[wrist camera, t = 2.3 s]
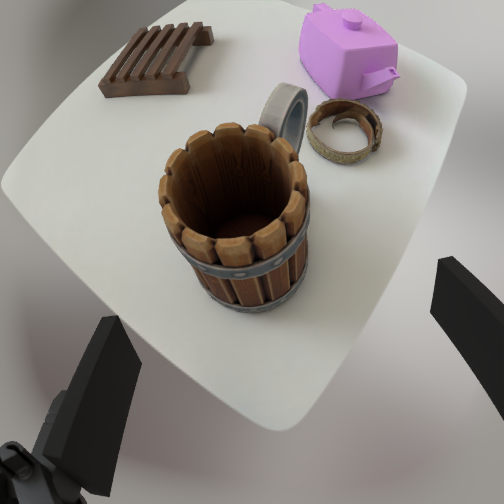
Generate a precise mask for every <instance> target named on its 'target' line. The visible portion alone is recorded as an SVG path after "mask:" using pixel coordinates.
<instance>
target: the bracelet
mask: <svg viewBox="0 0 504 504" xmlns="http://www.w3.org/2000/svg"><path fill="white" fill-rule="evenodd" d="M334 114H339V115H338V116H336V117H335V118H334V120H333V123H334V122H336V121H338V120H340V119H344V118H353V119H356V120H357V121H358V122H359V123H360V126H361V128H362V129H363V130H364V131H365V133H366V135H367V137H368V146H367V147H366V148H364V149H362V150H360V151H356V152H339V151H336V150H334V149H331V148H329V147H328V146H326V145H324V144H323V143H322V142H321V141H319V140H318V139H317V138H316V137H315V135H314V134H313V132H312V130H311V128H312V127H313V126H316V125H319V123H318V122H319V121H320V120H321V119H323V118H325V117H328V116H331V115H334ZM332 126H333V125H332ZM306 127H307V131H306V132H307V134H308V136H307V138H308V140H309V142H310V144H311V145H312V147H313V148H314V149H315V151H317V152H318V153H319V154H320V155H322V156H323V157H324V158H326V159H328V160H331V161H333V162H336V163H339V164H353V163H356V162H359V161H361V160H363V159H364V158H365V157H366V156H367V155H368V154H370V152H371V150H370V149H372V148H373V149H372V152H374V151H377V149H378V147H379V146H380V143H381V137H382V136H381V135H382V130H383V129H382V123H381V122H380V119H379V117H378V116H377V115H376V114H375V112H374V111H373V110H372V109H369V108H368V106H367V105H365V104H362V103H361V102H359V101H357V100H355V101H353V100H351V99H343V98H337V99H329V100H328V101H324V102H323V103H321V105H318V106H317V107H316V111H315V112H314V113H313V114H312V115H311V116H310V118H309V121H308V123H307V126H306ZM333 129H334V128H333ZM374 136H375V145H374V147H373V145H372V143H373V139H374Z"/></svg>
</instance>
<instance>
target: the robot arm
mask: <svg viewBox="0 0 504 504" xmlns="http://www.w3.org/2000/svg"><path fill="white" fill-rule="evenodd" d="M430 313H431V314H432V316H433V317H434V318H435V320H436V321H437V322H438V324H439V325H440V326H441V327H442V329H443V330H444V332H445V333H446V334H447V336H448V337H449V338H450V340H451V341H452V342H453V344H454V345H455V347H456V348H457V350H458V351H459V352H460V354H461V355H462V357H463V358H464V360H465V361H466V362H467V364H468V365H469V367H470V368H471V370H472V371H473V373H474V374H475V376H476V377H477V379H478V380H479V382H480V383H481V385H482V386H483V388H484V389H485V391H486V392H487V394H488V396H489V397H490V399H491V400H492V402H493V404H494V405H495V407H496V408H497V410H498V412H499V413H500V415H501V417H502V418H503V420H504V304H503V303H502V302H501V301H500V300H499V299H498V298H497V297H496V296H495V295H494V294H493V293H492V292H491V291H490V290H489V289H488V288H487V287H486V286H485V285H484V284H482V283H481V282H480V281H479V280H478V279H477V278H476V277H475V276H474V275H473V274H472V273H471V272H469V270H467V269H466V268H465V267H464V266H463V265H462V264H461V263H460V262H459V261H457V260H456V259H455V258H454V257H453V256H450V257H446V258H441V259H438V265H437V273H436V280H435V286H434V292H433V298H432V304H431V309H430ZM141 365H142V363H141V361H140V359H139V357H138V355H137V353H136V351H135V349H134V347H133V345H132V343H131V342H130V339H129V338H128V335H127V334H126V332H125V329H124V327H123V325H122V323H121V321H120V319H119V317H118V315H116V316H108V317H102V318H101V320H100V322H99V324H98V326H97V328H96V330H95V332H94V335H93V336H92V338H91V340H90V342H89V344H88V346H87V348H86V350H85V352H84V355H83V357H82V359H81V361H80V363H79V366H78V367H77V370H76V372H75V374H74V376H73V378H72V380H71V383H70V385H69V387H68V389H67V390H62V391H61V392H60V393H59V394H58V395H57V396H56V398H55V399H54V400H53V402H52V404H51V406H50V409H49V414H47V416H46V418H45V423H43V425H42V428H41V430H40V433H39V435H38V438H37V440H36V443H35V445H34V448H33V451H32V453H31V454H30V453H29V452H28V451H27V450H26V449H25V448H24V447H23V446H22V445H20V444H19V443H18V442H15V441H10V442H7V443H5V444H4V445H2V446H1V447H0V504H87V502H86V500H85V498H84V497H83V496H82V495H81V494H80V491H81V487H82V488H84V489H85V490H86V491H88V492H89V493H91V494H95V495H100V496H106V497H110V492H111V487H112V482H113V477H114V472H115V468H116V463H117V459H118V454H119V450H120V445H121V441H122V437H123V433H124V429H125V425H126V421H127V417H128V413H129V409H130V405H131V401H132V397H133V394H134V390H135V386H136V382H137V379H138V375H139V372H140V369H141Z"/></svg>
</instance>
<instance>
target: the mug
mask: <svg viewBox="0 0 504 504" xmlns="http://www.w3.org/2000/svg"><path fill="white" fill-rule="evenodd" d="M307 110H308V95H307V92H306V90H305V89H303V88H300V87H297V86H293V85H290V84H286V83H281V84H279V85H278V86H277V87H276V88H275V89H274V91H273V92H272V93H271V95H270V97H269V98H268V100H267V102H266V104H265V107H264V109H263V111H262V114H261V117H260V121H259V125H256V124H253V125H249V126H248V127H247V129H246V130H244V129H243V128H242V126H241V125H239V124H237V123H234V122H233V123H224V124H220V125H219V126H217V127H216V129H215V131H214V133H213V134H212V133H210V132H209V131H207V130H203V131H199V132H197V133H195V134H194V135H192V136H191V137H189V139H188V141H187V143H186V148H185V150H183V149H181V148H179V149H177V150H175V151H174V152H173V153H172V155H171V156H170V157H169V159H168V161H167V163H166V167H165V172H166V175H164V176H163V177H162V178H161V179H160V184H159V190H158V194H159V203H160V205H161V207H162V209H163V210H162V212H161V213H162V216H163V218H164V221H165V224H166V227H167V229H168V232H169V234H170V237H171V239H172V240H173V242H174V244H175V245H176V247H177V248H178V250H179V251H180V252H181V253H182V255H183V256H184V257H185V258H186V260H187V261H188V262H189V263H190V264H191V266H192V267H193V269H194V271H195V273H196V275H197V278H198V280H199V282H200V284H201V285H202V287H203V288H204V289H205V290H206V291H207V293H208V294H209V295H210V296H211V297H212V298H213V299H214V300H216V301H217V302H218V303H220V304H221V305H223V306H224V307H227V308H230V309H233V310H236V311H239V312H260V311H265V310H269V309H271V308H273V307H276V306H278V305H279V304H281V303H283V302H285V301H286V300H287V299H288V298H289V297H290V296H291V295H292V294H293V293H295V291H296V290H297V288H298V287H299V285H300V284H301V282H302V281H303V279H304V275H305V272H306V269H307V266H308V242H307V228H308V224H309V218H310V191H309V188H308V185H307V175H306V172H305V169H304V166H303V165H302V164H301V163H299V158H298V154H299V151H300V147H301V143H302V139H303V135H304V130H305V124H306V118H307Z"/></svg>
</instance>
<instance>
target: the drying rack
mask: <svg viewBox="0 0 504 504" xmlns="http://www.w3.org/2000/svg"><path fill="white" fill-rule="evenodd" d="M213 41H214V38H213V33H212V28H211V26H204V27H203V23H202V22H194V23H193V25H192V26H191V27H189V26H188V23H180V24H179V25H178V27H177V28H174V25H173V24H169V25H165V27H164V28H163V29H162V30H161V28H160V26H153V27H152V28H151V29H150V31H148V29H147V27H145V28H140V29H139V30H138V31H137V33H136V34H134V36H133V37H132V39H131V40H130V42H129V43H128V44H127V45H126V47H125V48H124V49H123V51H122V52H121V53H120V55H119V56H118V57H117V59H116V60H115V62H114V63H113V64H112V66H111V67H110V69H109V70H108V72H107V73H106V75H105V76H104V78H102V80H101V81H100V83H99V84H98V87H99V88H100V90H101V92H102V93H103V95H104V96H105V98H109V97H121V96H137V95H162V94H187V92H188V90H189V88H190V85H189V82H188V79H187V76H186V73H185V72H177V70H178V68H179V66H180V64H181V63H182V61H183V59H184V57H185V56H186V54H187V52H188V50H189V49H190V47H191V45H211V44H212V43H213ZM176 46H178V48H177V49H176V51H175V52H174V54H173V56H172V57H171V59H170V61H169V62H168V64H167V66H166V67H165V69H164V71H163V72H162V73H160V72H161V70H162V68H163V67H164V65H165V63H166V62H167V60H168V58H169V57H170V55H171V54H172V52H173V50H174V49H175V47H176ZM162 47H163V48H162ZM135 48H136V49H135ZM161 48H162V50H161V51H160V53H159V54H158V56H157V57H156V59H155V60H154V62H153V63H152V65H151V67H150V68H149V70H148V71H147V73H146V74H145V72H146V70H147V69H148V67H149V66H150V64H151V62H152V61H153V59H154V58H155V56H156V55H157V53H158V52H159V50H160V49H161ZM147 49H148V50H147ZM146 50H147V52H146V53H145V51H146ZM133 51H134V52H133ZM132 52H133V53H132ZM144 53H145V54H144ZM131 54H132V55H131ZM143 54H144V56H143ZM130 55H131V56H130ZM142 56H143V57H142ZM141 57H142V59H141ZM128 58H129V59H128ZM127 59H128V60H127ZM140 59H141V60H140ZM139 60H140V62H139ZM126 61H127V62H126ZM125 62H126V63H125ZM138 62H139V63H138ZM137 63H138V65H137ZM124 64H125V65H124ZM123 65H124V66H123ZM136 65H137V66H136ZM135 66H136V68H135ZM122 67H123V68H122ZM121 68H122V69H121ZM134 68H135V69H134ZM133 69H134V71H133ZM120 70H121V71H120ZM119 71H120V72H119ZM132 71H133V72H132ZM131 72H132V74H131ZM118 73H119V74H118ZM117 74H118V75H117ZM130 74H131V75H130ZM116 76H117V77H116Z"/></svg>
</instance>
